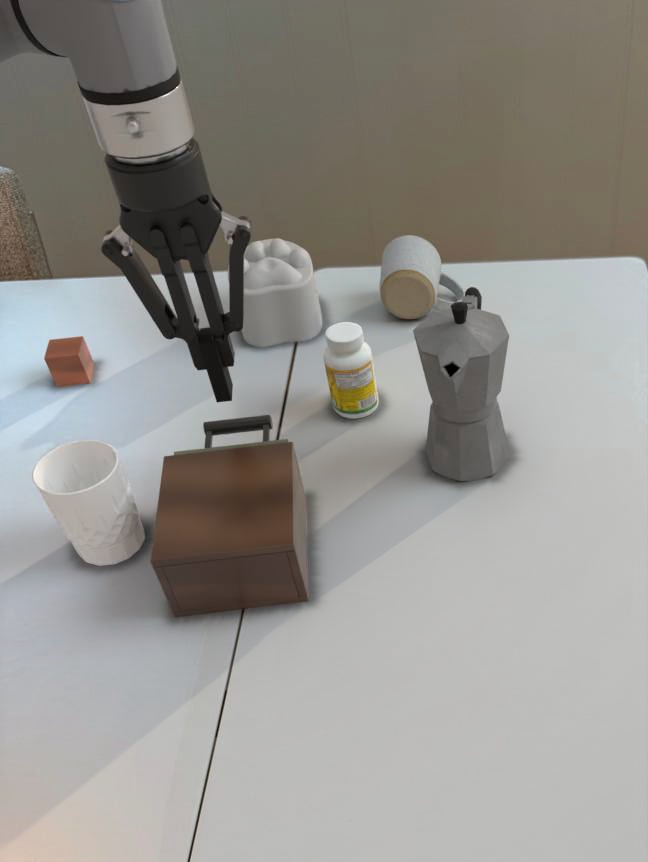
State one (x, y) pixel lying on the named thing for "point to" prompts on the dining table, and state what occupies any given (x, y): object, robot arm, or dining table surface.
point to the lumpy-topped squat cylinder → (279, 294)
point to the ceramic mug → (414, 278)
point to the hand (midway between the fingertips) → (224, 393)
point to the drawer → (236, 427)
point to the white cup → (91, 500)
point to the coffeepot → (464, 388)
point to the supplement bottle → (350, 371)
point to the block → (69, 361)
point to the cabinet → (231, 530)
